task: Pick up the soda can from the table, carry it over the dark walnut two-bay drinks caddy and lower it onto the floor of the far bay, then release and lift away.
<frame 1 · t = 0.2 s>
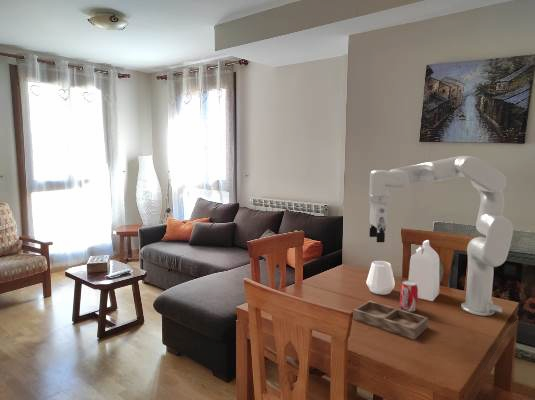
hand: (376, 239, 162), 30 cm above the table, tool pointing down, fingers open, 9 cm apart
white faceted vase: (380, 291, 186), on the table
soda can: (408, 309, 164), on the table
caddy: (389, 323, 151), on the table
milk: (423, 294, 181), on the table
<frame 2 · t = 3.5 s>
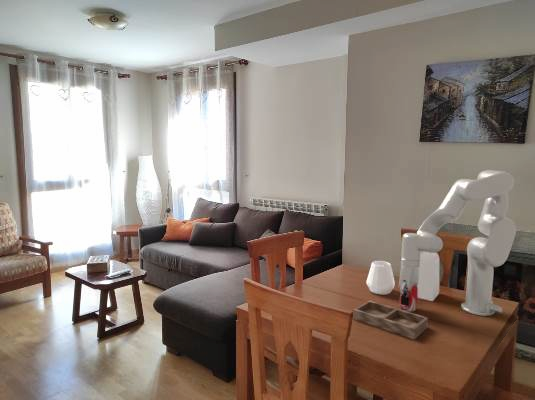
hand: (408, 302, 164), 3 cm above the table, tool pointing down, fingers closed on soda can, 7 cm apart
soda can: (408, 309, 164), on the table, touching gripper
everything else where it was.
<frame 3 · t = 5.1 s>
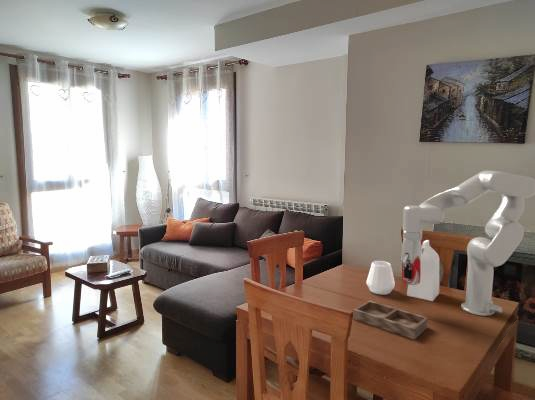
hand: (411, 275, 162), 15 cm above the table, tool pointing down, fingers closed on soda can, 7 cm apart
soda can: (411, 283, 162), point 12 cm above the table, touching gripper
everything else where it was.
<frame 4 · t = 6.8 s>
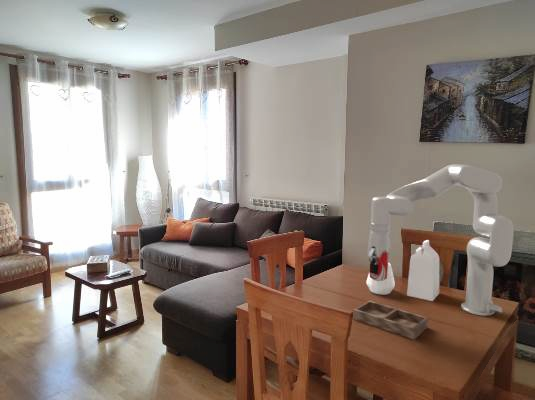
hand: (378, 271, 153), 20 cm above the table, tool pointing down, fingers closed on soda can, 7 cm apart
soda can: (378, 279, 153), point 16 cm above the table, touching gripper
everything else where it was.
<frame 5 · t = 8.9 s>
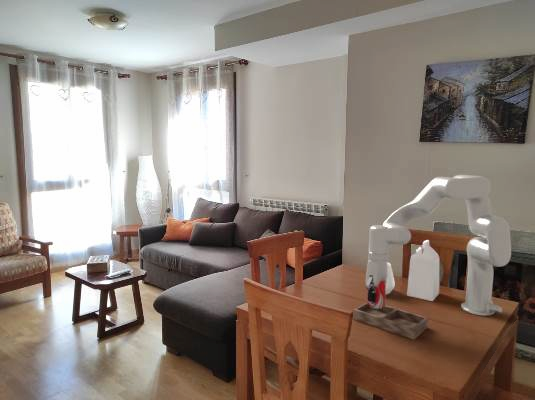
hand: (376, 298, 154), 8 cm above the table, tool pointing down, fingers closed on soda can, 7 cm apart
soda can: (375, 306, 154), point 5 cm above the table, touching gripper
everything else where it was.
when the fingers open (6 cm above the table, at t = 10.5 s): soda can drops 1 cm, resting on caddy.
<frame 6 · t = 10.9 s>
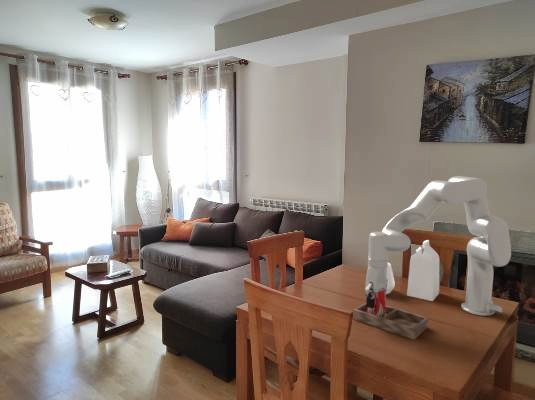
hand: (376, 303, 154), 6 cm above the table, tool pointing down, fingers open, 9 cm apart
soda can: (375, 316, 155), point 1 cm above the table, touching caddy
everything else where it was.
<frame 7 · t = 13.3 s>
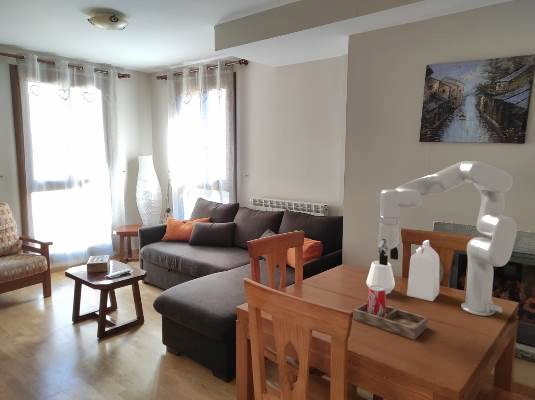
hand: (388, 261, 154), 23 cm above the table, tool pointing down, fingers open, 9 cm apart
nothing on the table moved.
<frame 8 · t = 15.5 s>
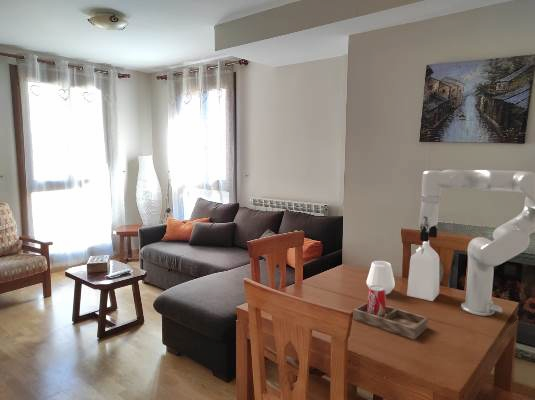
hand: (428, 239, 163), 30 cm above the table, tool pointing down, fingers open, 9 cm apart
nothing on the table moved.
at the end: soda can 0.1 cm from the target spot on the caddy, point 0.8 cm above the caddy's base; soda can tilted 0°; the gripper is holding nothing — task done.
